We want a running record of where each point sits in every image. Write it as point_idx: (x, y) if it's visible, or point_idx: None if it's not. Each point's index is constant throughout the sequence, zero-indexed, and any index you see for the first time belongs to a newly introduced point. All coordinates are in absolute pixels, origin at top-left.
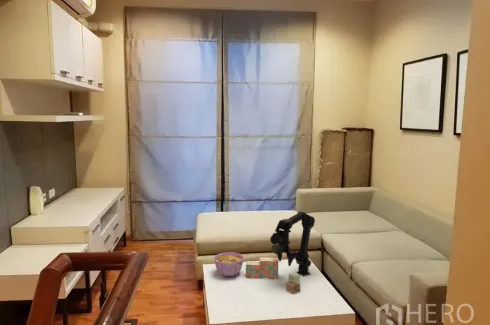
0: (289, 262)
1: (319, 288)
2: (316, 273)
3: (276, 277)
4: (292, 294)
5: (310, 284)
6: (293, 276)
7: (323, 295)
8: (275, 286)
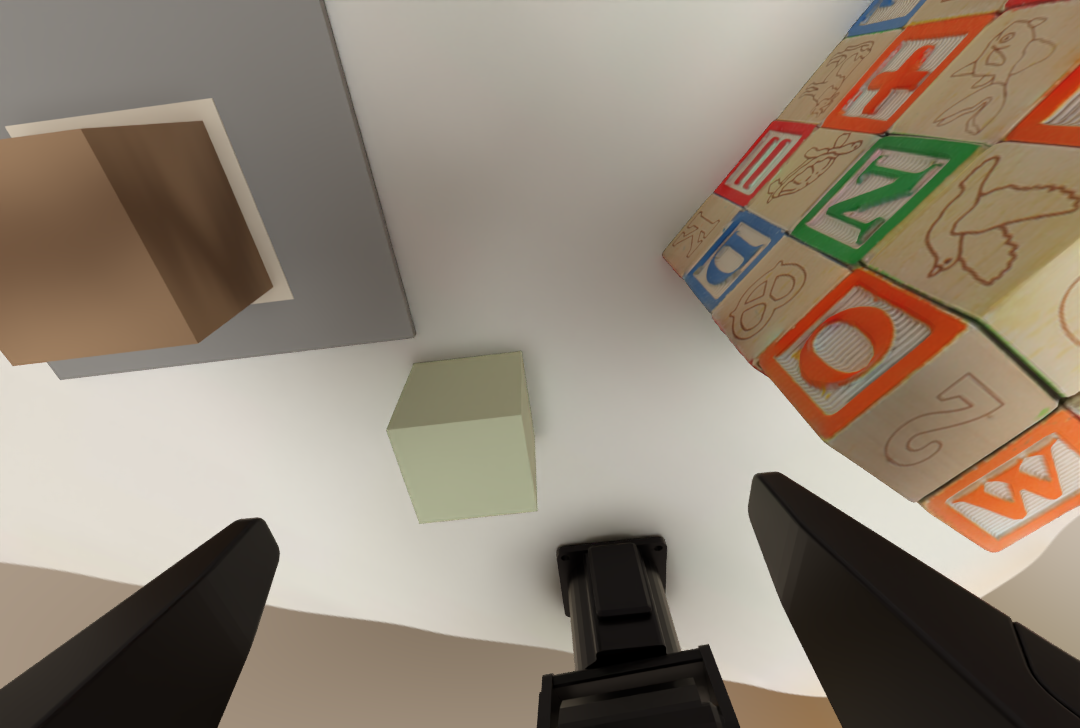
0: (38, 686)
1: (213, 526)
2: (542, 643)
3: (684, 243)
4: (19, 132)
5: (335, 505)
6: (399, 428)
7: (22, 479)
8: (446, 45)
